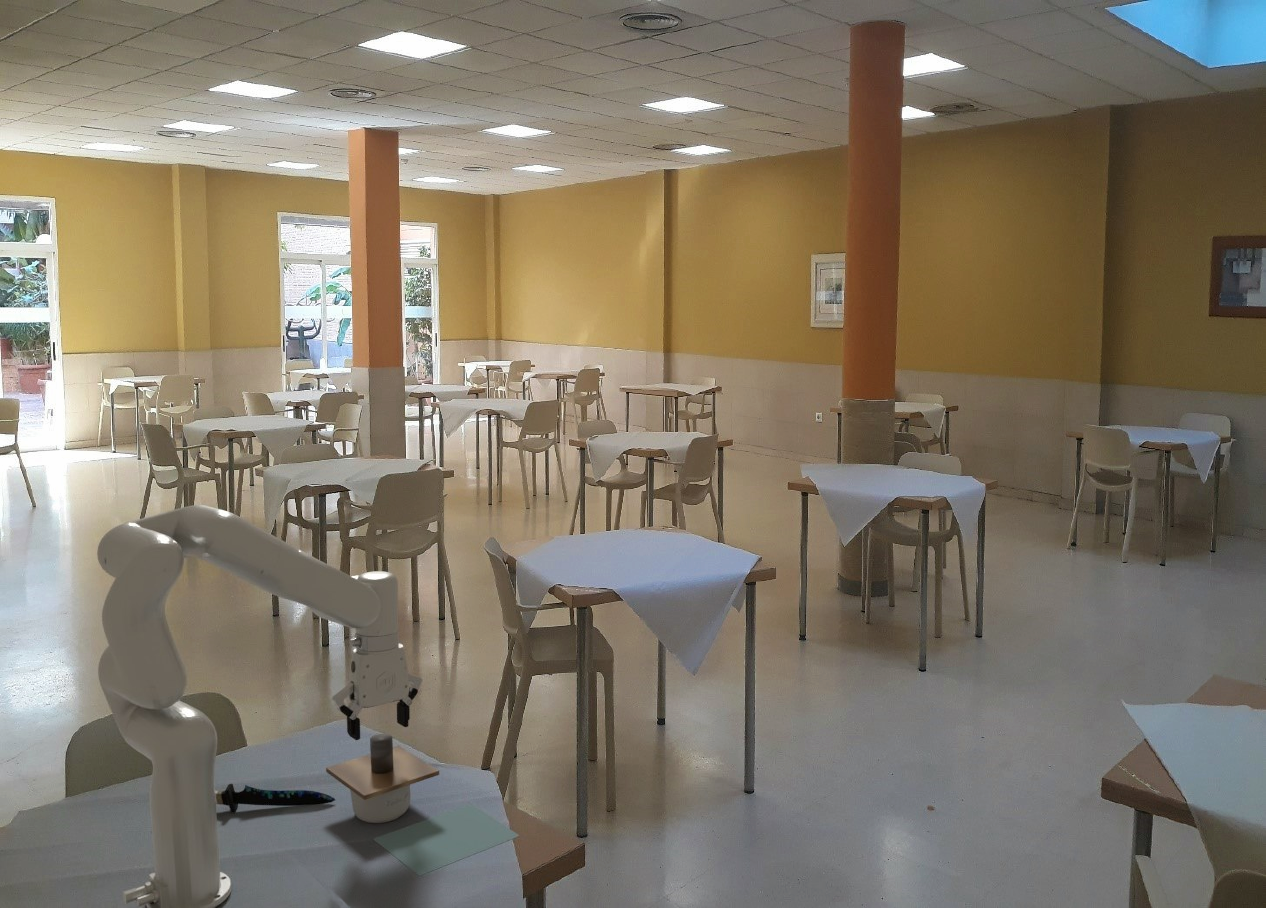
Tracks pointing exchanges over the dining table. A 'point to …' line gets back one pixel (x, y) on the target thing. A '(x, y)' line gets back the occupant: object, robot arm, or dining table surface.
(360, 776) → the lid
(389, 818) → the teacup
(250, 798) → the knife
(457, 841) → the mat
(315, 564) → the robot arm
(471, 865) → the dining table surface
